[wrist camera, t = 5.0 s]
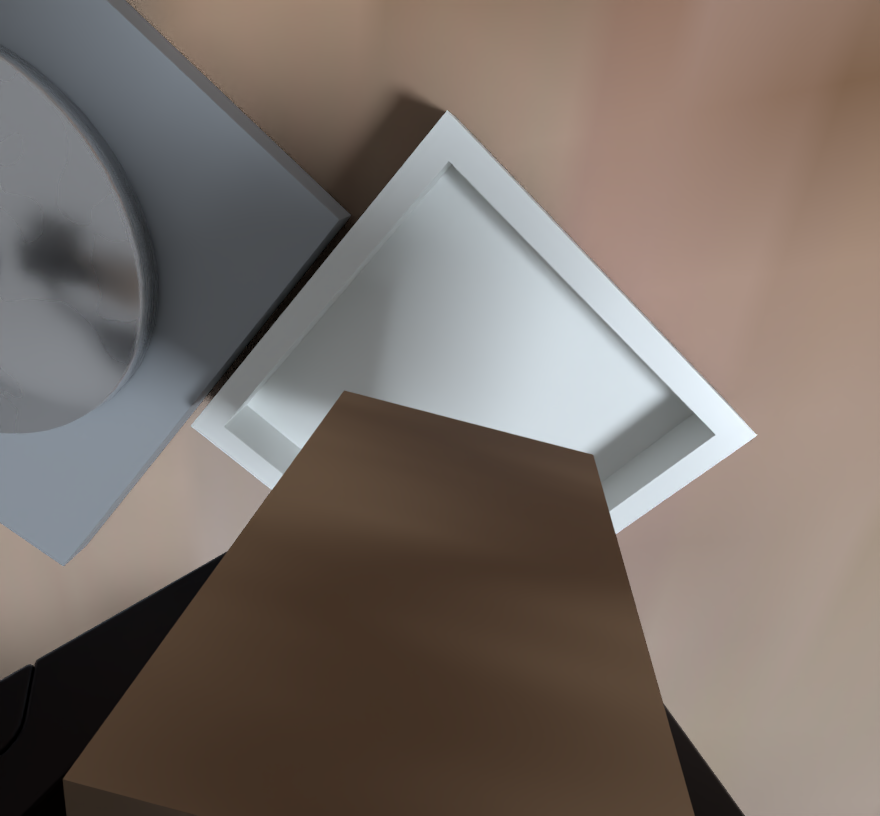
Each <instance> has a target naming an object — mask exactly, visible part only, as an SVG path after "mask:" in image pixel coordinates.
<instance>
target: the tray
mask: <svg viewBox="0 0 880 816" xmlns="http://www.w3.org/2000/svg"><path fill="white" fill-rule="evenodd" d="M344 390H345V391H348V392H352V393H356V394H360V395H364V396H368V397H372V398H376V399H379V400H383V401H387V402H391V403H395V404H399V405H403V406H407V407H410V408H414V409H418V410H422V411H426V412H430V413H434V414H438V415H441V416H445V417H449V418H453V419H457V420H461V421H465V422H468V423H472V424H476V425H480V426H484V427H488V428H492V429H496V430H499V431H503V432H507V433H511V434H515V435H519V436H523V437H527V438H530V439H534V440H538V441H542V442H546V443H550V444H554V445H558V446H561V447H565V448H569V449H573V450H577V451H581V452H585V453H589V454H592V455H593V456H594V459H595V463H596V466H597V470H598V473H599V477H600V481H601V484H602V488H603V491H604V495H605V498H606V502H607V505H608V509H609V513H610V516H611V520H612V523H613V527H614V530H615V534H617V533H618V532H620V531H621V530H622V529H624V528H625V527H627V526H628V525H630V524H631V523H632V522H634V521H635V520H637V519H638V518H640V517H641V516H642V515H644V514H645V513H647V512H648V511H650V510H651V509H653V508H654V507H655V506H657V505H658V504H660V503H661V502H663V501H664V500H665V499H667V498H668V497H670V496H671V495H673V494H674V493H675V492H677V491H678V490H680V489H681V488H683V487H684V486H686V485H687V484H688V483H690V482H691V481H693V480H694V479H696V478H697V477H698V476H700V475H701V474H703V473H704V472H706V471H707V470H708V469H710V468H711V467H713V466H714V465H716V464H717V463H719V462H720V461H721V460H723V459H724V458H726V457H727V456H729V455H730V454H731V453H733V452H734V451H736V450H737V449H739V448H740V447H741V446H743V445H744V444H746V443H747V442H749V441H750V440H751V439H753V438H754V437H756V436H757V435H756V434H755V432H754V431H753V430H752V429H751V428H750V427H749V426H748V425H747V423H746V422H745V421H744V420H743V419H742V418H741V417H740V416H739V414H738V413H737V412H736V411H735V410H734V409H733V408H732V407H731V406H730V404H729V403H728V402H727V401H726V400H725V399H724V398H723V397H722V396H721V395H720V394H719V393H718V392H717V391H716V390H715V388H714V387H713V386H712V385H711V384H710V383H709V382H708V381H707V380H706V379H705V378H704V377H703V376H702V375H701V374H700V373H699V372H698V371H697V370H696V369H695V367H694V366H693V365H692V364H691V363H690V362H689V361H688V360H687V359H686V358H685V357H684V356H683V355H682V354H681V353H680V352H679V351H678V350H677V349H676V347H675V346H674V345H673V344H672V343H671V342H670V341H669V340H668V339H667V338H666V337H665V336H664V335H663V334H662V333H661V332H660V331H659V330H658V329H657V328H656V326H655V325H654V324H653V323H652V322H651V321H650V320H649V319H648V318H647V317H646V316H645V315H644V314H643V313H642V312H641V311H640V310H639V309H638V308H637V307H636V305H635V304H634V303H633V302H632V301H631V300H630V299H629V298H628V297H627V296H626V295H625V294H624V293H623V292H622V291H621V290H620V289H619V288H618V287H617V285H616V284H615V283H614V282H613V281H612V280H611V279H610V278H609V277H608V276H607V275H606V274H605V273H604V272H603V271H602V270H601V269H600V268H599V267H598V266H597V264H596V263H595V262H594V261H593V260H592V259H591V258H590V257H589V256H588V255H587V254H586V253H585V252H584V251H583V250H582V249H581V248H580V247H579V246H578V245H577V243H576V242H575V241H574V240H573V239H572V238H571V237H570V236H569V235H568V234H567V233H566V232H565V231H564V230H563V229H562V228H561V227H560V226H559V225H558V223H557V222H556V221H555V220H554V219H553V218H552V217H551V216H550V215H549V214H548V213H547V212H546V211H545V210H544V209H543V208H542V207H541V206H540V205H539V204H538V202H537V201H536V200H535V199H534V198H533V197H532V196H531V195H530V194H529V193H528V192H527V191H526V190H525V189H524V188H523V187H522V186H521V185H520V184H519V183H518V181H517V180H516V179H515V178H514V177H513V176H512V175H511V174H510V173H509V172H508V171H507V170H506V169H505V168H504V167H503V166H502V165H501V164H500V163H499V161H498V160H497V159H496V158H495V157H494V156H493V155H492V154H491V153H490V152H489V151H488V150H487V149H486V148H485V147H484V146H483V145H482V144H481V143H480V142H479V140H478V139H477V138H476V137H475V136H474V135H473V134H472V133H471V132H470V131H469V130H468V129H467V128H466V127H465V126H464V125H463V124H462V123H461V122H460V121H459V119H458V118H457V117H456V116H454V115H453V114H452V113H450V112H449V111H448V110H447V111H446V112H445V114H444V115H443V116H442V117H441V119H440V120H439V121H438V122H437V123H436V125H435V126H434V127H433V128H432V130H431V131H430V132H429V133H428V135H427V136H426V137H425V138H424V139H423V141H422V142H421V143H420V144H419V146H418V147H417V148H416V149H415V151H414V152H413V153H412V154H411V155H410V157H409V158H408V159H407V160H406V162H405V163H404V164H403V165H402V167H401V168H400V169H399V170H398V171H397V173H396V174H395V175H394V176H393V178H392V179H391V180H390V181H389V183H388V184H387V185H386V186H385V187H384V189H383V190H382V191H381V192H380V194H379V195H378V196H377V197H376V199H375V200H374V201H373V202H372V203H371V205H370V206H369V207H368V208H367V210H366V211H365V212H364V213H363V215H362V216H361V217H360V218H359V219H358V221H357V222H356V223H355V224H354V226H353V227H352V228H351V229H350V231H349V232H348V233H347V234H346V235H345V237H344V238H343V239H342V240H341V242H340V243H339V244H338V245H337V247H336V248H335V249H334V250H333V251H332V253H331V254H330V255H329V256H328V258H327V259H326V260H325V261H324V263H323V264H322V265H321V266H320V267H319V269H318V270H317V271H316V272H315V274H314V275H313V276H312V277H311V279H310V280H309V281H308V282H307V283H306V285H305V286H304V287H303V288H302V290H301V291H300V292H299V293H298V295H297V296H296V297H295V298H294V299H293V301H292V302H291V303H290V304H289V306H288V307H287V308H286V309H285V311H284V312H283V313H282V314H281V315H280V317H279V318H278V319H277V320H276V322H275V323H274V324H273V325H272V327H271V328H270V329H269V330H268V331H267V333H266V334H265V335H264V336H263V338H262V339H261V340H260V341H259V343H258V344H257V345H256V346H255V347H254V349H253V350H252V351H251V352H250V354H249V355H248V356H247V357H246V359H245V360H244V361H243V362H242V363H241V365H240V366H239V367H238V368H237V370H236V371H235V372H234V373H233V375H232V376H231V377H230V378H229V380H228V381H227V382H226V383H225V384H224V386H223V387H222V388H221V389H220V391H219V392H218V393H217V394H216V396H215V397H214V398H213V399H212V400H211V402H210V403H209V404H208V405H207V407H206V408H205V409H204V410H203V412H202V413H201V414H200V415H199V416H198V418H197V419H196V420H195V421H194V423H193V424H192V425H191V427H193V428H194V429H195V430H197V431H198V432H199V433H200V434H202V435H203V436H204V437H205V438H207V439H208V440H209V441H210V442H212V443H213V444H214V445H216V446H217V447H218V448H219V449H221V450H222V451H223V452H224V453H226V454H227V455H228V456H229V457H231V458H232V459H233V460H234V461H236V462H237V463H238V464H240V465H241V466H242V467H243V468H245V469H246V470H247V471H248V472H250V473H251V474H252V475H253V476H255V477H256V478H257V479H259V480H260V481H261V482H262V483H264V484H265V485H266V486H267V487H269V488H270V489H271V490H272V489H273V488H274V487H275V485H276V484H277V482H278V481H279V480H280V478H281V477H282V475H283V474H284V473H285V471H286V470H287V469H288V467H289V466H290V464H291V463H292V462H293V460H294V459H295V458H296V456H297V455H298V453H299V452H300V451H301V449H302V448H303V446H304V445H305V444H306V442H307V441H308V440H309V438H310V437H311V435H312V434H313V433H314V431H315V430H316V429H317V427H318V426H319V424H320V423H321V422H322V420H323V419H324V417H325V416H326V415H327V413H328V412H329V411H330V409H331V408H332V406H333V405H334V404H335V402H336V401H337V400H338V398H339V397H340V395H341V394H342V393H343V391H344Z"/></svg>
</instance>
